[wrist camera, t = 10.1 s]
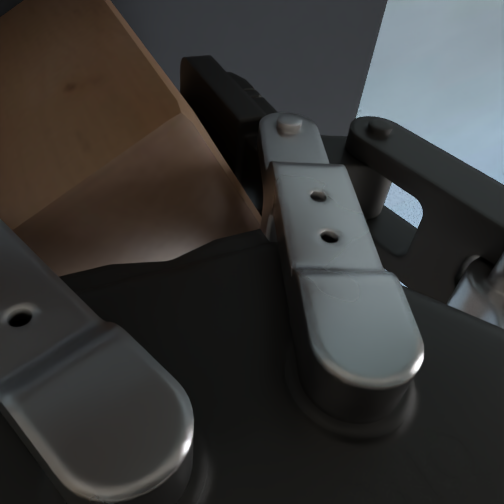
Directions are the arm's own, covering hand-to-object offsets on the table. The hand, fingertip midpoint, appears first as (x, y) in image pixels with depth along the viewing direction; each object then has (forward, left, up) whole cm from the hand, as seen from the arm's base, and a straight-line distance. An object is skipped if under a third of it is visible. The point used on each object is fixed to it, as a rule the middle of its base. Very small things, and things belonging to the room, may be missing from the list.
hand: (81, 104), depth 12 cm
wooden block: (0, 0, -2) cm, 2 cm away
